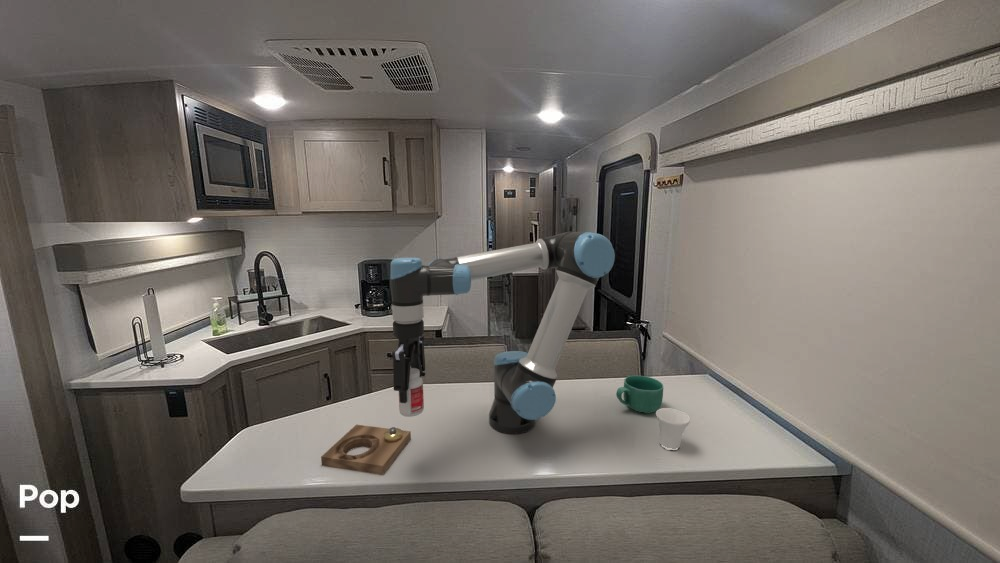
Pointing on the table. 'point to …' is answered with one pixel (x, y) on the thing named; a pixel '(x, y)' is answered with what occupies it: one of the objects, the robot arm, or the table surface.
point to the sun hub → (392, 435)
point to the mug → (641, 393)
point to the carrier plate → (370, 460)
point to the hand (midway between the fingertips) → (411, 406)
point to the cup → (671, 426)
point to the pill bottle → (415, 393)
